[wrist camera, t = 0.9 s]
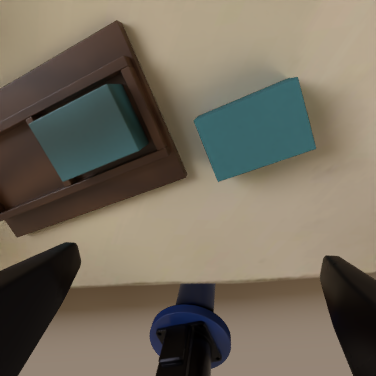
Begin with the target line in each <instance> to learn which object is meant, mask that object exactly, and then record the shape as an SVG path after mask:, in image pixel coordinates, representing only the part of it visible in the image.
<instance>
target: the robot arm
mask: <svg viewBox="0 0 376 376" xmlns="http://www.w3.org/2000/svg"><path fill="white" fill-rule="evenodd" d="M80 265H81V258H80V254H79V250H78V246H77V244H76V243H69V242H66V243H63V244H60V245H58V246H56V247H54V248H51V249H49V250H47V251H44V252H42V253H40V254H38V255H35V256H33V257H31V258H29V259H26V260H24V261H22V262H19V263H17V264H15V265H13V266H10V267H8V268H6V269H4V270H1V271H0V376H18V375H19V373H20V371H21V370H22V368H23V367H24V365H25V363H26V362H27V360H28V358H29V357H30V355H31V353H32V352H33V350H34V348H35V347H36V345H37V344H38V342H39V340H40V339H41V337H42V335H43V334H44V332H45V330H46V329H47V327H48V325H49V323H50V322H51V321H52V319H53V317H54V316H55V314H56V313H57V311H58V309H59V308H60V306H61V304H62V302H63V300H64V299H65V297H66V295H67V293H68V291H69V289H70V286H71V284H72V282H73V280H74V278H75V276H76V274H77V272H78V270H79V268H80ZM320 281H321V285H322V289H323V292H324V296H325V299H326V303H327V306H328V310H329V313H330V317H331V320H332V324H333V327H334V329H335V332H336V335H337V337H338V340H339V342H340V345H341V347H342V349H343V352H344V354H345V357H346V359H347V361H348V364H349V367H350V369H351V372H352V374H353V376H376V280H375V279H373V278H372V277H370V276H369V275H367V274H366V273H364V272H362V271H361V270H359V269H358V268H356V267H355V266H353V265H351V264H350V263H348V262H347V261H345V260H344V259H342V258H340V257H339V256H325V257H324V258H323V263H322V268H321V273H320ZM156 335H157V337H158V339H159V340H160V342H161V344H162V349H161V353H160V357H159V365H158V369H157V373H156V376H210V375H211V362H218V361H221V360H222V355H221V353H220V351H219V349H218V347H217V345H216V343H215V341H214V339H213V337H212V335H211V333H210V331H209V329H208V327H207V325H206V323H205V322H204V321H195V322H190V323H185V324H179V325H174V326H168V327H163V328H158V329H157V330H156Z"/></svg>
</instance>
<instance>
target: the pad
mask: <svg viewBox="0 0 376 376" xmlns="http://www.w3.org/2000/svg"><path fill="white" fill-rule="evenodd" d="M194 123H195V125H196V128H197V130H198V133H199V135H200V138H201V140H202V143H203V145H204V148H205V150H206V153H207V155H208V158H209V160H210V163H211V165H212V168H213V170H214V173H215V176H216V178H217V181H218V182H219V181H222V180H225V179H228V178H231V177H234V176H237V175H240V174H243V173H246V172H249V171H252V170H255V169H258V168H261V167H264V166H267V165H270V164H273V163H275V162H278V161H281V160H284V159H287V158H290V157H293V156H296V155H299V154H302V153H305V152H308V151H311V150H314V149H316V146H315V142H314V138H313V134H312V130H311V126H310V122H309V119H308V115H307V111H306V107H305V103H304V99H303V95H302V91H301V88H300V84H299V80H298V77H294V78H288V79H285V80H283V81H280V82H278V83H276V84H273V85H271V86H269V87H266V88H264V89H261V90H259V91H257V92H254V93H252V94H250V95H247V96H245V97H242V98H240V99H238V100H235V101H233V102H231V103H228V104H226V105H223V106H221V107H219V108H216V109H214V110H212V111H209V112H207V113H204V114H202V115H200V116H198V117H197V118H196V119H195V120H194Z"/></svg>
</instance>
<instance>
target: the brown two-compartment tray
mask: <svg viewBox="0 0 376 376" xmlns="http://www.w3.org/2000/svg"><path fill="white" fill-rule="evenodd" d="M186 176H187V172H186V170H185V168H184V165H183V163H182V161H181V158H180V156H179V154H178V151H177V149H176V147H175V145H174V142H173V140H172V138H171V135H170V133H169V131H168V128H167V126H166V124H165V122H164V119H163V117H162V115H161V112H160V110H159V108H158V105H157V103H156V101H155V98H154V96H153V94H152V92H151V89H150V87H149V85H148V82H147V80H146V78H145V75H144V73H143V71H142V68H141V66H140V64H139V62H138V59H137V57H136V55H135V52H134V50H133V48H132V45H131V43H130V41H129V39H128V36H127V34H126V32H125V29H124V27H123V25H122V23H121V22H119V21H117V20H116V21H115V22H113V23H111V24H110V25H108V26H106V27H104V28H103V29H101V30H99V31H98V32H96V33H94V34H93V35H91V36H89V37H87V38H86V39H84V40H82V41H81V42H79V43H77V44H76V45H74V46H72V47H70V48H69V49H67V50H65V51H64V52H62V53H60V54H59V55H57V56H55V57H53V58H52V59H50V60H48V61H47V62H45V63H43V64H41V65H40V66H38V67H36V68H35V69H33V70H31V71H30V72H28V73H26V74H24V75H23V76H21V77H19V78H18V79H16V80H14V81H13V82H11V83H9V84H7V85H6V86H4V87H2V88H1V89H0V221H3V220H5V221H6V223H7V224H8V225H9V227H10V228H11V230H12V231H13V232H14V234H15V235H16V237H20V236H23V235H26V234H28V233H31V232H34V231H37V230H40V229H43V228H45V227H48V226H51V225H54V224H57V223H59V222H62V221H65V220H68V219H71V218H74V217H76V216H79V215H82V214H85V213H88V212H90V211H93V210H96V209H99V208H102V207H105V206H107V205H110V204H113V203H116V202H119V201H121V200H124V199H127V198H130V197H133V196H136V195H138V194H141V193H144V192H147V191H150V190H152V189H155V188H158V187H161V186H164V185H167V184H169V183H172V182H175V181H178V180H181V179H183V178H186Z"/></svg>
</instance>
